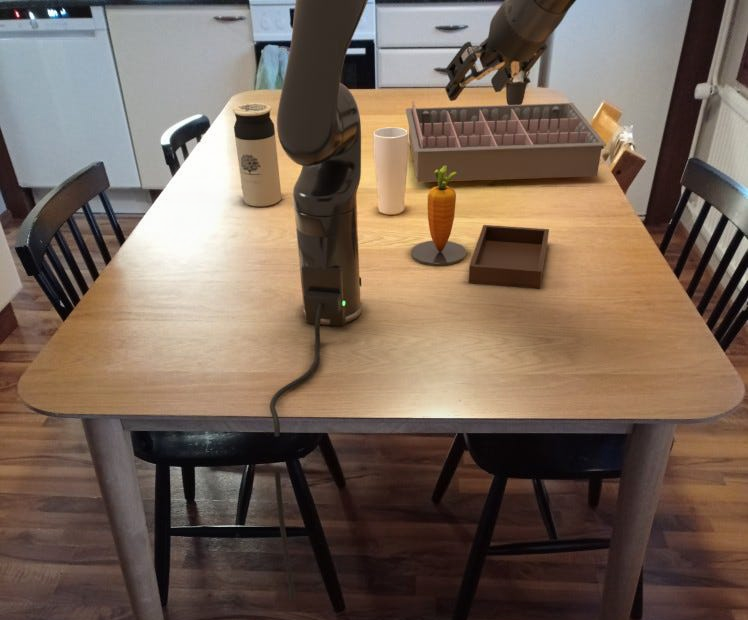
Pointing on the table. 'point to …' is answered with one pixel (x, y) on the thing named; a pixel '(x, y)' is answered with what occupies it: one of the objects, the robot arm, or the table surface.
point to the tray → (509, 256)
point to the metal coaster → (438, 254)
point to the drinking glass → (390, 168)
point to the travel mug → (257, 154)
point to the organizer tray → (503, 142)
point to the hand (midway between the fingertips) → (472, 90)
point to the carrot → (441, 209)
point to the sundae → (516, 89)
